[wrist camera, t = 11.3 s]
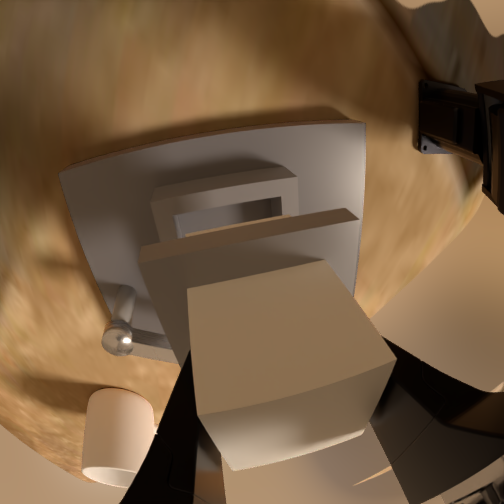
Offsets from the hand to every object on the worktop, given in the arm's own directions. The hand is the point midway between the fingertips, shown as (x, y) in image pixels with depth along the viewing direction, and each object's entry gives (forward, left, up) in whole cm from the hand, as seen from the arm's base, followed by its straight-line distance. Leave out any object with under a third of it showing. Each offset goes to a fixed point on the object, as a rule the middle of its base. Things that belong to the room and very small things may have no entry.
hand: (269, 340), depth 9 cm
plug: (0, 0, -4) cm, 4 cm away
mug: (+15, +24, -13) cm, 31 cm away
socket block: (0, +2, -13) cm, 13 cm away
